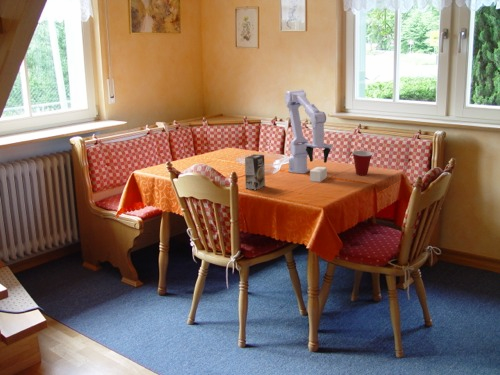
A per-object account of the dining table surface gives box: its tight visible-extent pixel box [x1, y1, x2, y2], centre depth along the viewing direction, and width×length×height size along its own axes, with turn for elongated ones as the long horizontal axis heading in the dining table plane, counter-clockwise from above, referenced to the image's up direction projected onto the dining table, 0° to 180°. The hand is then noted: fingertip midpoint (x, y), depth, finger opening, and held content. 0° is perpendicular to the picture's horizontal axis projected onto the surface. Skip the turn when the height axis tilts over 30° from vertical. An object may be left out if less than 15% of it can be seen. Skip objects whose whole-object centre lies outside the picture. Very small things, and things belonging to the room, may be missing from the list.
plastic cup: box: [351, 150, 374, 176], centre depth 330 cm, size 11×11×12 cm
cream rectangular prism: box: [309, 166, 328, 183], centre depth 324 cm, size 6×10×5 cm, turn 153°
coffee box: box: [244, 153, 266, 191], centre depth 311 cm, size 9×6×16 cm
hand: (318, 161), depth 322 cm, fingers open, 7 cm apart
